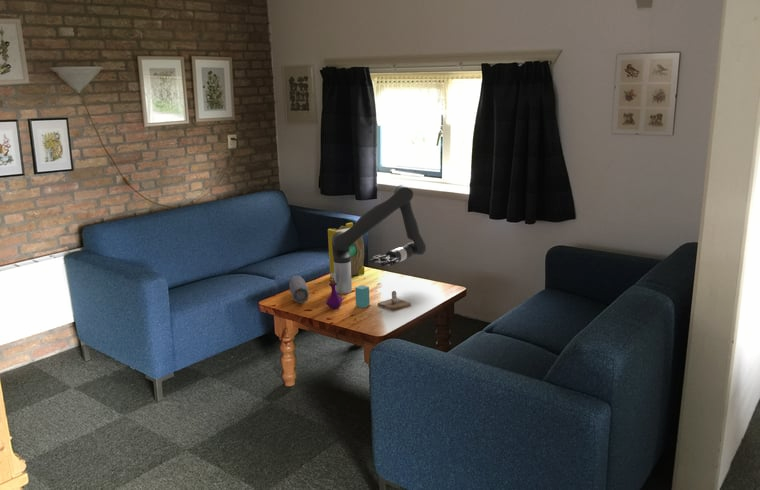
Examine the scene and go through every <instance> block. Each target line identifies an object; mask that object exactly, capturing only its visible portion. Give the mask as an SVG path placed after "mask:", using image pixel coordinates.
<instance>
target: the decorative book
mask: <svg viewBox="0 0 760 490" xmlns="http://www.w3.org/2000/svg"><path fill="white" fill-rule="evenodd" d="M353 225H354V222H347V223H345V226H344V225H340V227H339V228H328V229H327V239H328V240H327V241H328V258H329V276H330V278H332V277H331V273H334V259H333V250H332V237H333V235H334V234H335V233H336V232H339V231H342V232H345V231H347V230H348V229H350V228H351V227H352V226H353ZM349 252H350V259H351V277H352V276H357V275H358V276H361V275H365V266H364V260H365V244H364V239H363V235H362V236H361V237H360V238H359V239H357V240H356V241H355V242H354V243H353V244H352V245H351V246H350V247H349Z"/></svg>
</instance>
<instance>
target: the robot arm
mask: <svg viewBox="0 0 760 490" xmlns="http://www.w3.org/2000/svg"><path fill="white" fill-rule="evenodd" d="M393 192H394V193H393V195H392V196H390V197H389V198H387V200H385V201H383V202H380V203H378V204H376V205H375V206H372V207H371V208H369V209H368V210H367V211H366V212H365V213H363V214H362V215H361V216H360V217H359V218H358V219H357V221H356V222H355V223H353V226H352V227H351V228H350V229H348V230H347V231H345V232H342V231H339V232H336V233H335V234H334V235H333V237H332V250H333V259H334V273H335V274H336V275H335V276H334V278H333V280H335V283H337V285H336V286H335V290H336V292H337V294H338V295H340V294H341V295H344V294H349V293H351V292H352V289H353V288H352V286H353V285H352V276H351V259H350V252H349V247H350V246H351V245H352V244H353V243H354V242H355V241H356V240H357V239H359V238H360V237H361V236H362V237H363V236H364V235H366V234H367V233H368V232H370V231H371V230H372V229H374V228H375V227H377V226H378V225H379V224H381V223H382V222H383V221H385V220H386V219H387V218H388V217H389V216H391V215H392V214H393V213H394V212H395V211H397V210H398V209H400V212H401V216H402V220H403V225H404V228H405V233H406V234H405V235H406V238H407V239H409V240H411V242H408V243H406V244H405V245H403V246H400V247H397V248H393V249H391V250H388V251H387V252H386V254H383V255H382V254H377V255H373V256H371V259H369V260H368V261H369V265H372V264H375V263H379V264H380V267H385V266H395V265H396V264H399V263H400V262H403V261H405V260H406V259H409V258H411V257H412V256H413V255H419V256H420V255H424V254H425V252H426V250H427V247H426V243H425V241H424V239H423V237H422V234H420V228H419V226H418V222H417V219H416V217H415V214H414V212H413V207H412V204H411V203H412V202H411V201H412V200H413V197H414V192H413V189H412V188H411V187H409V186H408V185H405V184H399V185H398V186H396V187H395V189H394V191H393Z"/></svg>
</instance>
